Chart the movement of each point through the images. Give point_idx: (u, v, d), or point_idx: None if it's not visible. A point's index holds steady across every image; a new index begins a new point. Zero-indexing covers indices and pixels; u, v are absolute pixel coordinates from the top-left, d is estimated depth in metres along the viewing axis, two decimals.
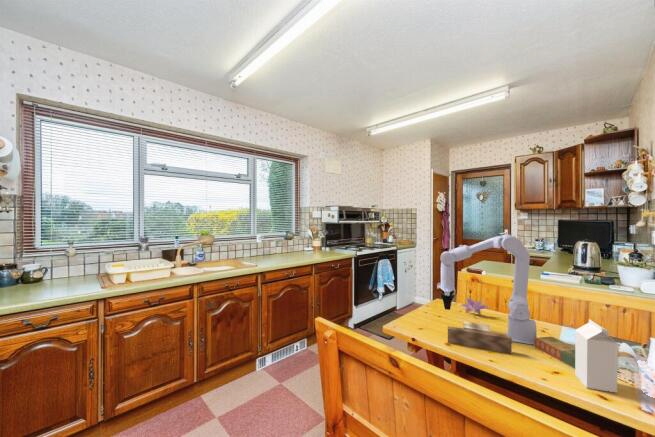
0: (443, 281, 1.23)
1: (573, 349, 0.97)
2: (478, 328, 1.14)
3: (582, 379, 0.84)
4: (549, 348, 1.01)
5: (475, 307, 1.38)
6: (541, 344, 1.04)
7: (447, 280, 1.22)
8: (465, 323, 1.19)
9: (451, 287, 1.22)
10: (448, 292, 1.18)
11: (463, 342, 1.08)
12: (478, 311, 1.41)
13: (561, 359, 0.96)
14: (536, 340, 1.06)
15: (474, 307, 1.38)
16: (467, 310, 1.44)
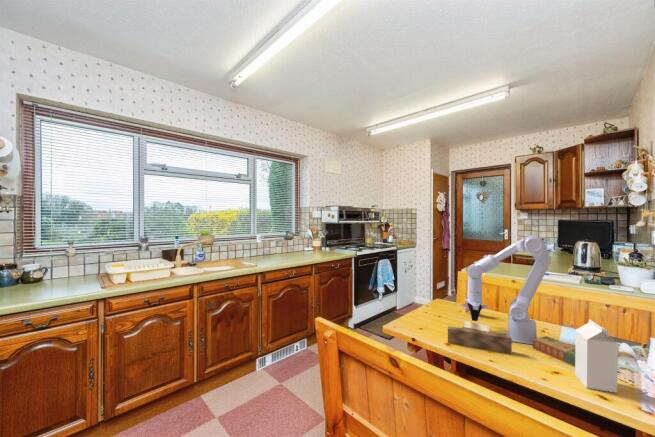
0: (471, 294, 1.21)
1: (573, 348, 0.98)
2: (477, 328, 1.14)
3: (582, 379, 0.84)
4: (550, 349, 1.00)
5: None
6: (541, 346, 1.03)
7: (475, 293, 1.20)
8: (466, 323, 1.19)
9: (479, 301, 1.20)
10: (477, 306, 1.16)
11: (463, 342, 1.08)
12: None
13: (565, 360, 0.95)
14: (535, 341, 1.04)
15: None
16: (467, 310, 1.44)
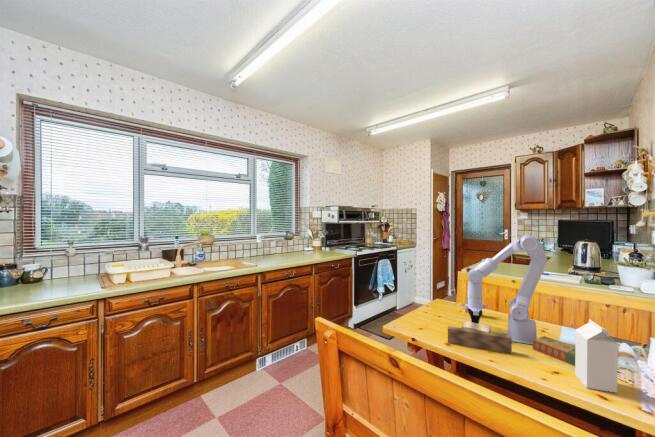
0: (471, 300, 1.20)
1: (573, 348, 0.98)
2: (477, 328, 1.14)
3: (582, 379, 0.84)
4: (551, 350, 0.99)
5: None
6: (541, 347, 1.02)
7: (475, 299, 1.19)
8: (466, 322, 1.19)
9: (479, 306, 1.19)
10: (477, 312, 1.15)
11: (463, 342, 1.08)
12: None
13: (566, 360, 0.95)
14: (535, 342, 1.04)
15: None
16: (467, 310, 1.44)
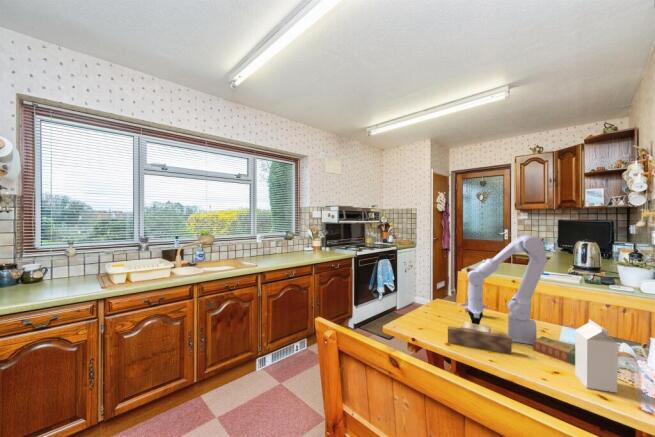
0: (471, 302, 1.18)
1: (572, 348, 0.98)
2: (476, 328, 1.13)
3: (582, 379, 0.84)
4: (552, 350, 0.99)
5: None
6: (542, 347, 1.02)
7: (476, 301, 1.17)
8: (465, 323, 1.18)
9: (480, 308, 1.16)
10: (478, 314, 1.12)
11: (463, 342, 1.08)
12: None
13: (568, 361, 0.95)
14: (535, 343, 1.03)
15: None
16: (466, 310, 1.44)
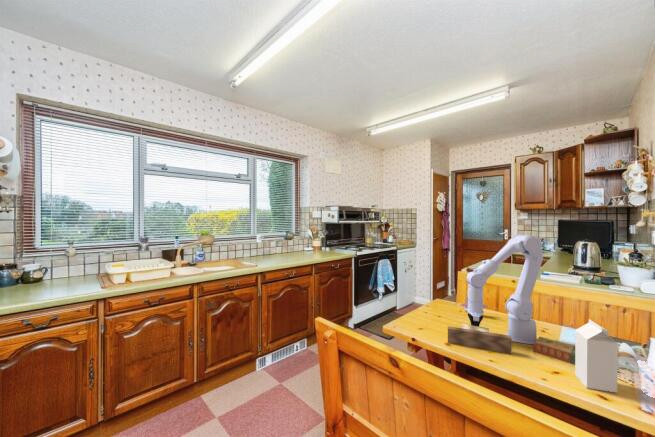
0: (471, 304, 1.14)
1: (572, 347, 0.98)
2: None
3: (582, 379, 0.84)
4: (554, 351, 0.98)
5: None
6: (543, 349, 1.01)
7: (475, 303, 1.13)
8: (464, 325, 1.15)
9: (480, 311, 1.13)
10: (477, 317, 1.09)
11: (463, 342, 1.08)
12: None
13: (570, 361, 0.95)
14: (536, 344, 1.02)
15: None
16: None
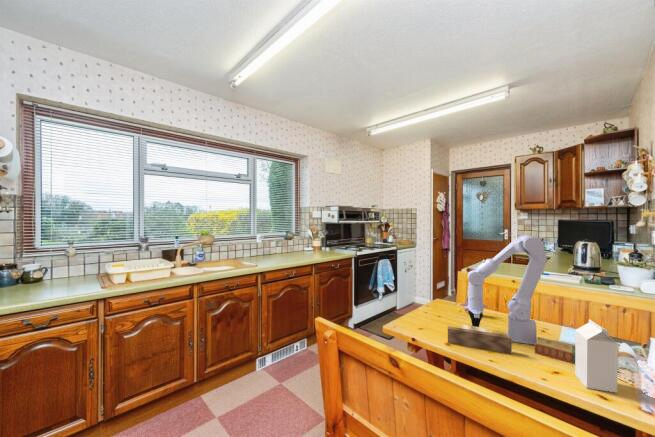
0: (471, 302, 1.18)
1: (571, 347, 0.99)
2: None
3: (582, 379, 0.84)
4: (556, 352, 0.98)
5: None
6: (544, 349, 1.00)
7: (476, 301, 1.16)
8: (464, 326, 1.15)
9: (480, 308, 1.16)
10: (478, 314, 1.12)
11: (463, 342, 1.08)
12: None
13: (572, 361, 0.95)
14: (537, 346, 1.01)
15: None
16: (466, 310, 1.45)
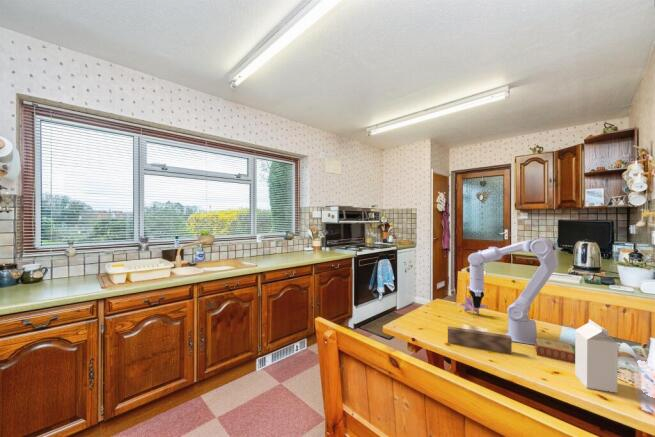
0: (473, 282, 1.23)
1: (570, 346, 0.99)
2: None
3: (582, 379, 0.84)
4: (558, 353, 0.97)
5: None
6: (546, 351, 0.99)
7: (477, 281, 1.22)
8: (464, 326, 1.15)
9: (481, 288, 1.22)
10: (479, 293, 1.18)
11: (463, 342, 1.08)
12: (477, 310, 1.42)
13: None
14: (540, 347, 1.00)
15: (473, 306, 1.39)
16: (466, 309, 1.45)
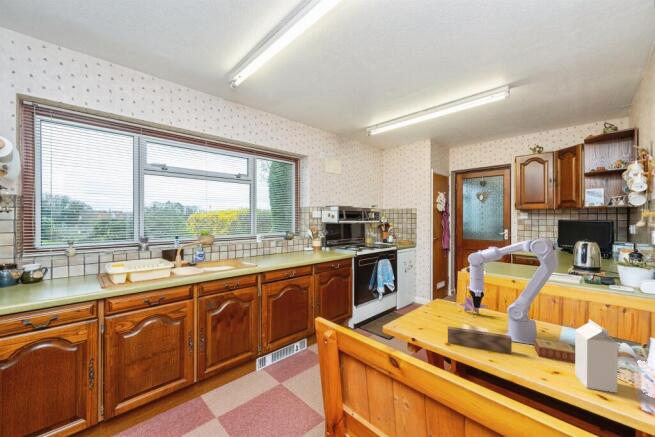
0: (473, 282, 1.23)
1: (570, 346, 1.00)
2: None
3: (582, 379, 0.84)
4: (560, 353, 0.97)
5: None
6: (548, 352, 0.98)
7: (477, 281, 1.22)
8: (464, 326, 1.15)
9: (481, 288, 1.22)
10: (479, 293, 1.18)
11: (463, 342, 1.08)
12: (476, 310, 1.42)
13: None
14: (541, 349, 0.99)
15: (473, 306, 1.39)
16: (465, 309, 1.45)
